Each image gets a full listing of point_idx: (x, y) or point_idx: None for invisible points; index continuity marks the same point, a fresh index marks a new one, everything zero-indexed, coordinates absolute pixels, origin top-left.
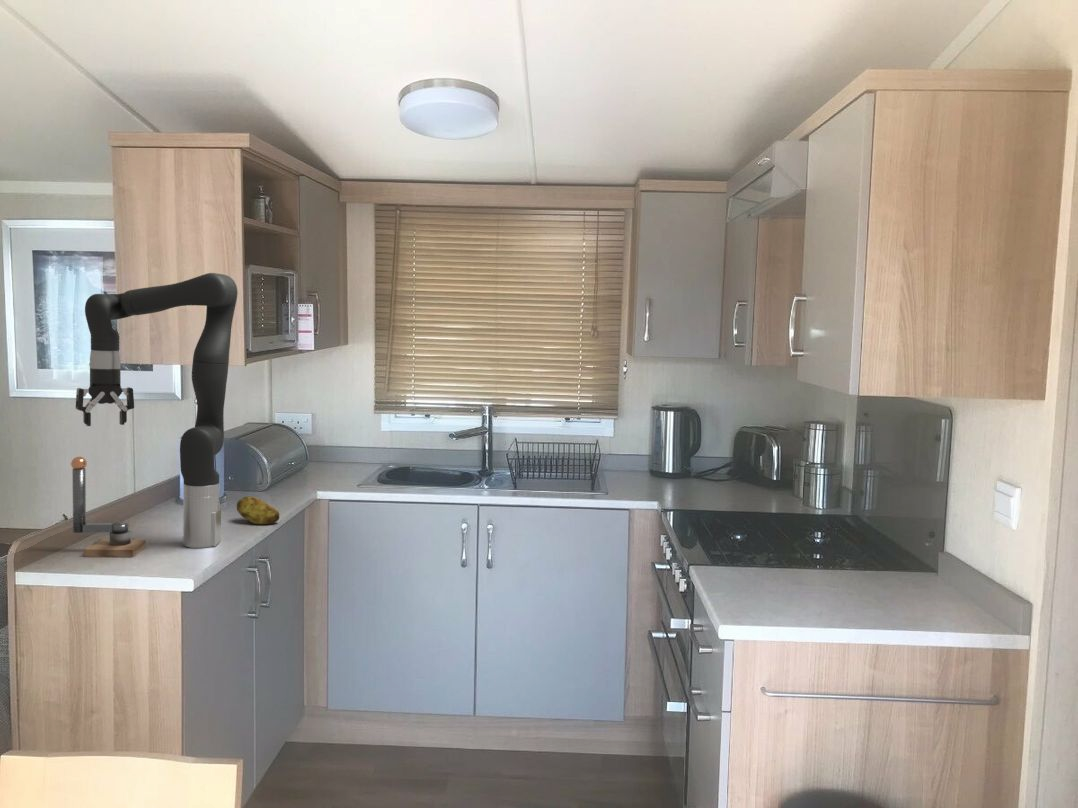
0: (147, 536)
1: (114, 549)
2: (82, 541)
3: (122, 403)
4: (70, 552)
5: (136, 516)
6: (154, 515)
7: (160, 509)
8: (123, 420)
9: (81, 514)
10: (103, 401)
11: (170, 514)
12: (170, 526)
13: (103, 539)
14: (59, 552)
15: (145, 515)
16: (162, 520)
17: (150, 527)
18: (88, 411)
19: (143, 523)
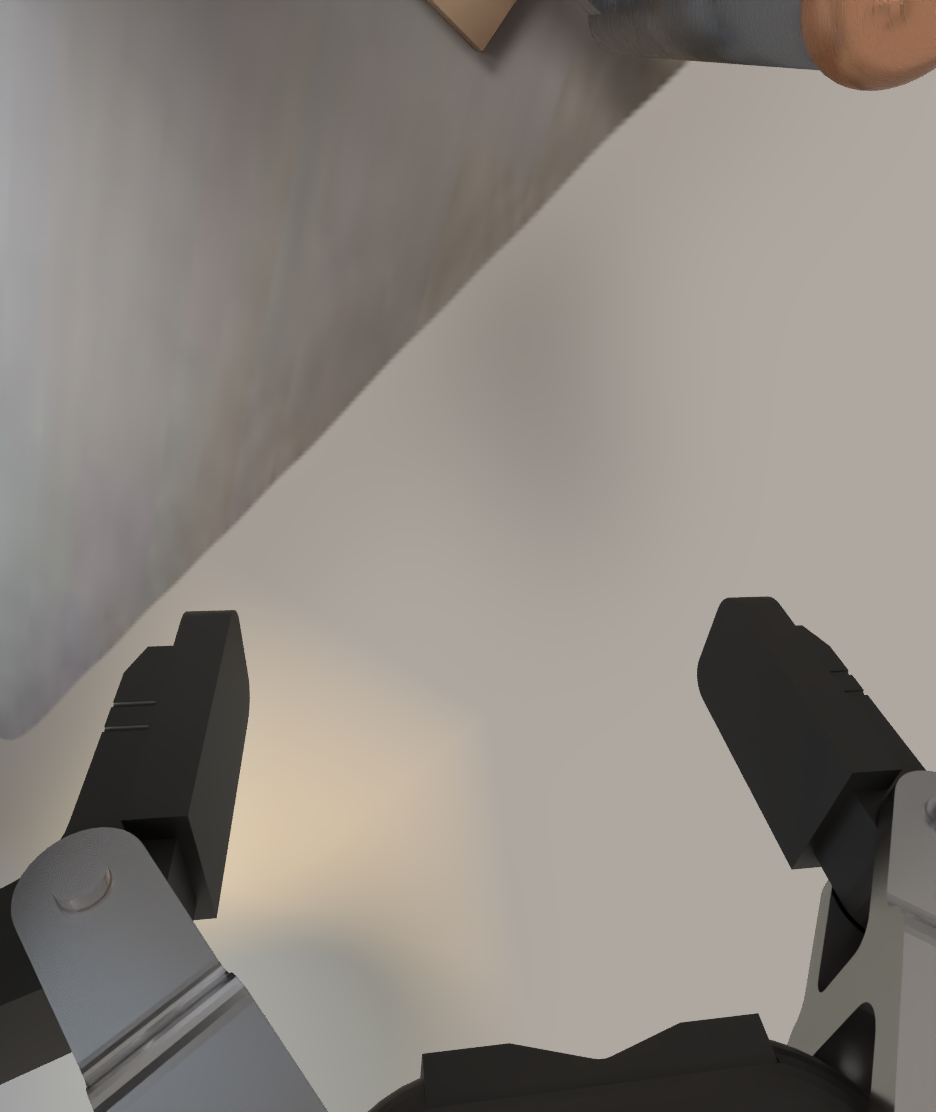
0: (191, 130)
1: None
2: (507, 229)
3: (109, 1068)
4: None
5: (182, 561)
6: (102, 546)
7: (65, 629)
8: (189, 658)
9: None
10: (711, 1104)
11: (24, 532)
12: (39, 295)
13: (465, 28)
14: None
15: (142, 561)
16: (72, 441)
17: (148, 331)
18: (917, 794)
19: (171, 428)
